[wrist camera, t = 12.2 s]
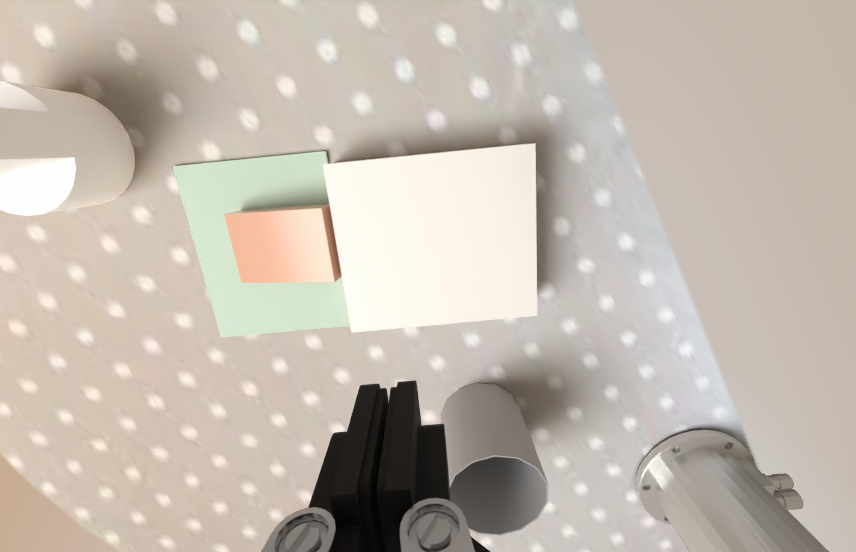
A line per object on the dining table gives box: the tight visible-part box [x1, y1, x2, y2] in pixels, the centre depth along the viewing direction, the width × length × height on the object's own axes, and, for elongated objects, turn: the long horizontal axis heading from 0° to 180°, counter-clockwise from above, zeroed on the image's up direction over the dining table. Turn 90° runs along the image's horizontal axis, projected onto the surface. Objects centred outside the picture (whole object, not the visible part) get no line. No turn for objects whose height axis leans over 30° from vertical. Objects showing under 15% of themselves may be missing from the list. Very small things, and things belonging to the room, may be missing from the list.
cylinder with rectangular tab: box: [0, 81, 135, 216], centre depth 27 cm, size 9×9×12 cm
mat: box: [172, 151, 350, 337], centre depth 36 cm, size 13×16×1 cm
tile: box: [224, 204, 342, 283], centre depth 33 cm, size 9×6×2 cm, turn 96°
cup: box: [441, 383, 548, 536], centre depth 37 cm, size 8×8×10 cm
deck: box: [323, 143, 537, 333], centre depth 34 cm, size 16×14×4 cm
